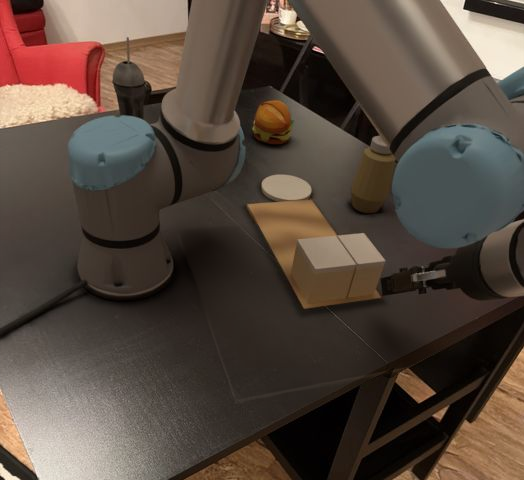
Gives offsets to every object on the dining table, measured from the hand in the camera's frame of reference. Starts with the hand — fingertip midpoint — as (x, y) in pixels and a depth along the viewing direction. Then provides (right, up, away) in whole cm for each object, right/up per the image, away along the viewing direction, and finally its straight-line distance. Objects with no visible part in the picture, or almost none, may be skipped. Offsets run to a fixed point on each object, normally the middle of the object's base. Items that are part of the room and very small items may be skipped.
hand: (385, 286), depth 73 cm
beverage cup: (-50, +43, +43) cm, 79 cm away
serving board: (-10, +9, +17) cm, 22 cm away
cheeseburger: (-17, +44, +50) cm, 68 cm away
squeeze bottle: (+3, +21, +31) cm, 37 cm away
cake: (-9, +1, +8) cm, 13 cm away
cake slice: (-3, +2, +10) cm, 11 cm away
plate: (-14, +25, +32) cm, 43 cm away
